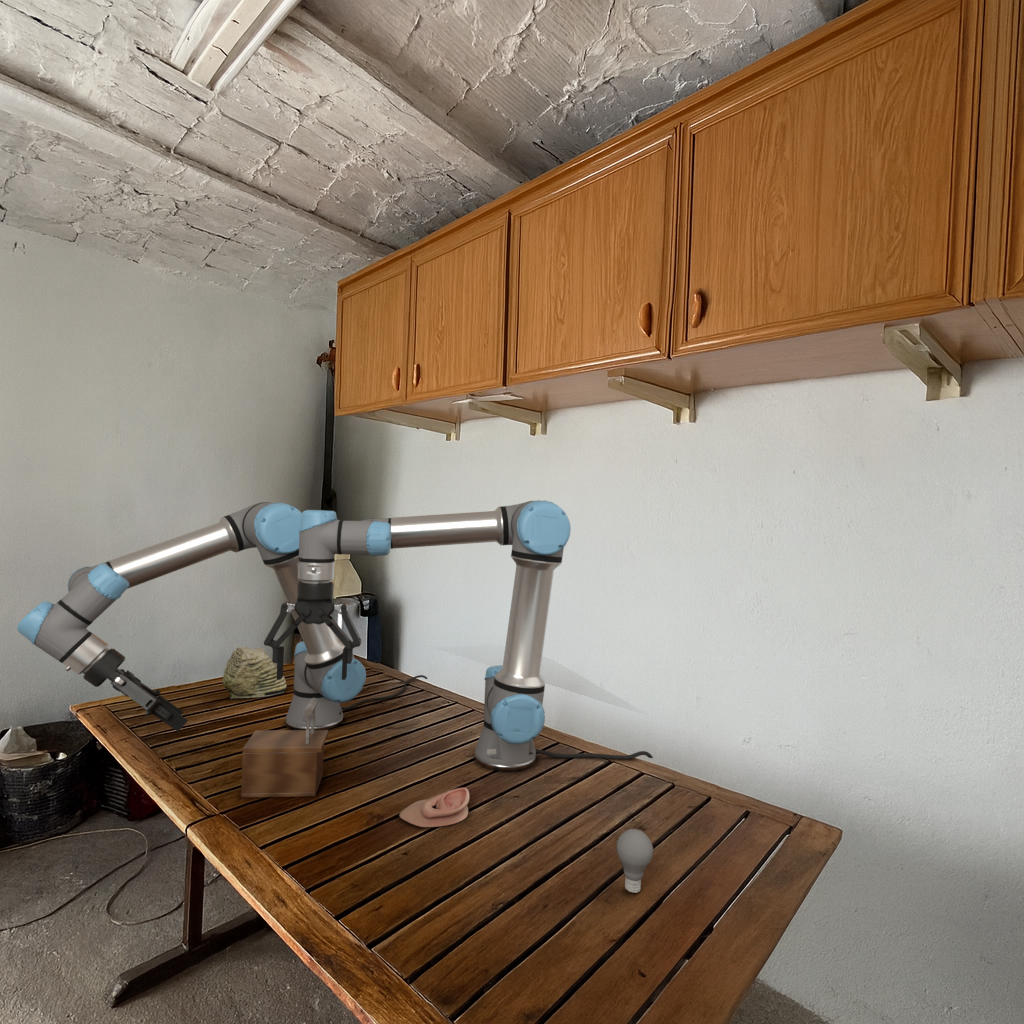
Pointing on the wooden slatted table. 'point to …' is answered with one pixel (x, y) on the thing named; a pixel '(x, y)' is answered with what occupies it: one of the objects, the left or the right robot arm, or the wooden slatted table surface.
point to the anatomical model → (438, 809)
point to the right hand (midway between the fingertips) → (312, 678)
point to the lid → (289, 737)
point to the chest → (281, 774)
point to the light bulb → (634, 857)
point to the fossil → (252, 674)
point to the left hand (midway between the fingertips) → (181, 721)
